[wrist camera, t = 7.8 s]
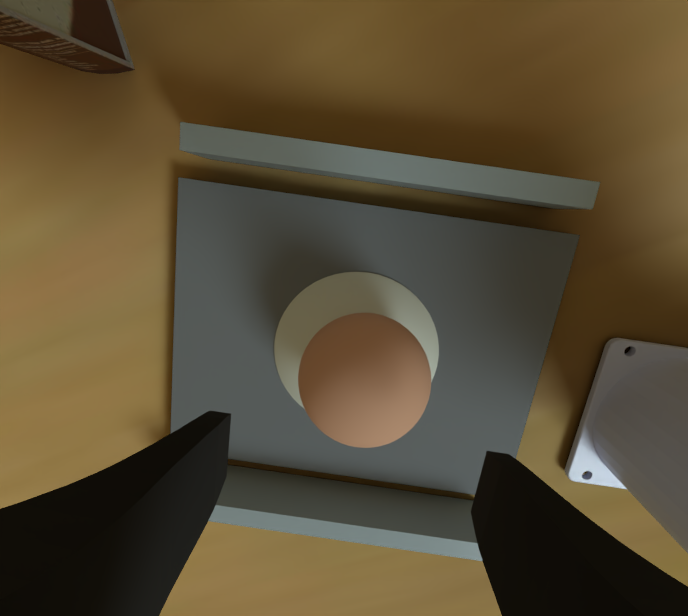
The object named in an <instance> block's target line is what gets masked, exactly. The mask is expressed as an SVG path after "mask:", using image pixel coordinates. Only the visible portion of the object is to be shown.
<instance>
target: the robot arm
mask: <svg viewBox="0 0 688 616" xmlns="http://www.w3.org/2000/svg"><path fill="white" fill-rule="evenodd" d="M629 346H630V350H629V352H627V353H624V351H625V349H626V348H627V347H629ZM230 424H231V413H224V412H217V411H208V412H206V413H204V414H202V415H201V416H199V417H197V418H196V419H194V420H192V421H191V422H189V423H188V424H186V425H184V426H183V427H181V428H179V429H178V430H176V431H174V432H173V433H171V434H169V435H168V436H166V437H164V438H163V439H161V440H159V441H157V442H156V443H154V444H152V445H150V446H148V447H147V448H145V449H143V450H141V451H139V452H137V453H135V454H133V455H132V456H130V457H128V458H126V459H124V460H122V461H120V462H118V463H116V464H114V465H112V466H110V467H108V468H106V469H104V470H102V471H99V472H97V473H95V474H93V475H90V476H88V477H86V478H83V479H81V480H79V481H76V482H74V483H72V484H69V485H67V486H64V487H61V488H58V489H56V490H53V491H50V492H47V493H45V494H42V495H39V496H37V497H34V498H31V499H28V500H26V501H23V502H20V503H17V504H14V505H11V506H8V507H5V508H1V509H0V616H159V614H160V612H161V610H162V608H163V606H164V604H165V602H166V600H167V598H168V596H169V594H170V592H171V590H172V588H173V586H174V584H175V582H176V580H177V579H178V577H179V575H180V573H181V571H182V569H183V567H184V565H185V563H186V562H187V560H188V558H189V556H190V554H191V552H192V550H193V548H194V547H195V545H196V543H197V541H198V539H199V537H200V535H201V533H202V532H203V530H204V528H205V526H206V524H207V522H208V520H209V518H210V516H211V514H212V512H213V510H214V508H215V505H216V503H217V500H218V498H219V495H220V493H221V490H222V487H223V485H224V482H225V479H226V477H227V465H228V451H229V438H230ZM586 471H588V472H587V473H586V474H584V475H582V474H583V473H584V472H586ZM565 474H566V475H567V477H568V478H569V479H570V480H572V481H575V482H582V483H588V484H595V485H602V486H609V487H616V488H623V489H627V490H628V491H629V492H630V493H631V494H632V495H633V496H634V497H635V498H636V499H637V500H638V501H639V502H640V503H641V504H642V505H643V506H644V507H645V509H646V510H647V511H648V512H649V513H650V514H651V515H652V516H653V517H654V518H655V519H656V520H657V521H658V522H659V523H660V524H661V525H662V527H663V528H664V529H665V530H666V531H667V532H668V533H669V534H670V535H671V536H672V537H673V538H674V539H675V540H676V541H677V542H678V543H679V545H680V546H681V547H682V548H683V549H684V550H685V551H686V552H687V553H688V348H686V347H679V346H672V345H665V344H658V343H651V342H644V341H637V340H630V339H623V338H613V339H610V340H609V341H608V342H607V343H606V345H605V348H604V351H603V354H602V357H601V360H600V363H599V366H598V369H597V372H596V375H595V378H594V381H593V384H592V387H591V390H590V393H589V396H588V400H587V403H586V406H585V409H584V412H583V415H582V418H581V421H580V424H579V427H578V430H577V433H576V436H575V439H574V442H573V445H572V448H571V452H570V455H569V458H568V461H567V464H566V467H565ZM471 516H472V521H473V526H474V531H475V535H476V539H477V544H478V548H479V551H480V554H481V557H482V560H483V563H484V566H485V569H486V572H487V575H488V577H489V580H490V583H491V586H492V589H493V591H494V594H495V597H496V600H497V603H498V605H499V608H500V611H501V614H502V616H688V587H687V586H686V585H684V584H683V583H681V582H679V581H678V580H676V579H675V578H673V577H671V576H670V575H668V574H667V573H665V572H664V571H662V570H661V569H659V568H658V567H656V566H655V565H653V564H652V563H650V562H649V561H647V560H646V559H644V558H643V557H641V556H640V555H638V554H637V553H635V552H634V551H632V550H631V549H629V548H628V547H627V546H625V545H624V544H622V543H621V542H619V541H618V540H617V539H615V538H614V537H613V536H611V535H610V534H609V533H607V532H606V531H605V530H603V529H602V528H601V527H599V526H598V525H597V524H595V523H594V522H593V521H591V520H590V519H589V518H588V517H586V516H585V515H584V514H583V513H581V512H580V511H579V510H577V509H576V508H575V507H574V506H573V505H571V504H570V503H569V502H568V501H566V500H565V499H564V498H563V497H562V496H560V495H559V494H558V493H557V492H555V491H554V490H553V489H552V488H551V487H549V486H548V485H547V484H546V483H545V482H543V481H542V480H541V479H540V478H539V477H537V476H536V475H535V474H534V473H533V472H531V471H530V470H529V469H528V468H527V467H525V466H524V465H523V464H522V463H520V462H519V461H518V460H516V459H515V458H514V457H512V456H511V455H509V454H506V453H499V452H492V451H487V452H486V456H485V459H484V463H483V467H482V471H481V475H480V478H479V482H478V486H477V490H476V493H475V497H474V501H473V505H472V509H471Z"/></svg>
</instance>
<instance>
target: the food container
mask: <svg viewBox="0 0 688 616" xmlns="http://www.w3.org/2000/svg"><path fill="white" fill-rule="evenodd" d="M0 44H3V45H6V46H9V47H12V48H15V49H18V50H21V51H24V52H27V53H30V54H33V55H36V56H39V57H42V58H45V59H48V60H51V61H54V62H57V63H59V64H62V65H65V66H68V67H72V68H75V69H78V70H81V71H85V72H92V73H99V74H108V73H121V72H126V71H131V70H135V69H134V66H133V63H132V59H131V56H130V53H129V50H128V47H127V44H126V41H125V38H124V35H123V32H122V29H121V26H120V23H119V20H118V16H117V13H116V10H115V7H114V4H113V1H112V0H0Z"/></svg>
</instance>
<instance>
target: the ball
mask: <svg viewBox="0 0 688 616" xmlns="http://www.w3.org/2000/svg"><path fill="white" fill-rule="evenodd" d="M298 387H299V393H300V398H301V401H302V404H303V406H304V408H305V410H306V412H307V414H308V416H309V417H310V419H311V420H312V422H313V423H314V424H315V425H316V426H317V427H318V428H319V430H321V431H322V432H323V433H324V434H325V435H327V436H329V437H330V438H332V439H333V440H335V441H337V442H339V443H342V444H345V445H348V446H353V447H360V448H372V447H378V446H383V445H386V444H389V443H391V442H394V441H395V440H397V439H399V438H401V437H402V436H403V435H405V434H406V433H407V432H408V431H409V430H411V429H412V428H413V427H414V425H415V424H416V423H417V422H418V421H419V419H420V418H421V416H422V414H423V412H424V410H425V408H426V406H427V403H428V400H429V396H430V391H431V371H430V366H429V362H428V359H427V356H426V353H425V351H424V349H423V348H422V346H421V344H420V342H419V341H418V340H417V338H416V337H415V336H414V335H413V334H412V333H411V332H410V331H409V330H408V329H407V328H406V327H404V326H403V325H402V324H400V323H399V322H397V321H395V320H393V319H391V318H388V317H386V316H383V315H379V314H375V313H354V314H349V315H345V316H342V317H340V318H337V319H335V320H333V321H331V322H330V323H328V324H327V325H325V326H324V327H323V328H321V329H320V330H319V331H318V332H317V333H316V334H315V335H314V337H313V338H312V339H311V340H310V342H309V344H308V345H307V347H306V349H305V351H304V353H303V356H302V358H301V362H300V366H299V373H298Z"/></svg>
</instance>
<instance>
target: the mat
mask: <svg viewBox="0 0 688 616" xmlns="http://www.w3.org/2000/svg"><path fill="white" fill-rule="evenodd" d="M579 236H580V235H575V234H568V233H561V232H554V231H547V230H540V229H533V228H526V227H519V226H513V225H506V224H499V223H492V222H485V221H478V220H471V219H464V218H457V217H450V216H443V215H436V214H429V213H422V212H415V211H408V210H402V209H395V208H388V207H381V206H374V205H367V204H360V203H353V202H346V201H339V200H332V199H325V198H318V197H311V196H304V195H297V194H291V193H284V192H277V191H270V190H263V189H256V188H249V187H242V186H235V185H228V184H221V183H214V182H207V181H200V180H193V179H186V178H180V177H178V207H177V240H176V272H175V305H174V337H173V370H172V402H171V433H173V432H174V431H176V430H178V429H179V428H181V427H183V426H184V425H186V424H188V423H189V422H191V421H192V420H194V419H196V418H197V417H199V416H201V415H202V414H204V413H206V412H208V411H217V412H224V413H231V424H230V438H229V451H228V459H233V460H240V461H247V462H253V463H260V464H267V465H274V466H281V467H288V468H295V469H301V470H308V471H315V472H322V473H329V474H336V475H343V476H350V477H356V478H363V479H370V480H377V481H384V482H391V483H398V484H404V485H411V486H418V487H425V488H432V489H439V490H446V491H452V492H459V493H466V494H473V495H475V493H476V490H477V486H478V482H479V478H480V475H481V471H482V467H483V463H484V459H485V456H486V452H487V451H492V452H499V453H506V454H509V455H511V456H512V457H514V458H515V459H516V455H517V452H518V448H519V445H520V441H521V438H522V434H523V431H524V427H525V424H526V421H527V417H528V414H529V410H530V407H531V403H532V400H533V396H534V393H535V389H536V386H537V382H538V379H539V375H540V372H541V368H542V365H543V361H544V358H545V354H546V351H547V348H548V344H549V341H550V337H551V334H552V330H553V327H554V323H555V320H556V316H557V313H558V309H559V306H560V302H561V299H562V295H563V292H564V288H565V285H566V281H567V278H568V275H569V271H570V268H571V264H572V261H573V257H574V254H575V250H576V247H577V243H578V240H579ZM354 313H375V314H379V315H383V316H386V317H388V318H391V319H393V320H395V321H397V322H399V323H400V324H402V325H403V326H404V327H406V328H407V329H408V330H409V331H410V332H411V333H412V334H413V335H414V336H415V337H416V338H417V340H418V341H419V342H420V344H421V346H422V348H423V349H424V351H425V353H426V356H427V359H428V362H429V366H430V371H431V391H430V396H429V400H428V403H427V406H426V408H425V410H424V412H423V414H422V416H421V418H420V419H419V421H418V422H417V423H416V424H415V425H414V427H413V428H412V429H411V430H409V431H408V432H407V433H406V434H405V435H403V436H402V437H401V438H399V439H397V440H395V441H394V442H391V443H389V444H386V445H383V446H378V447H372V448H360V447H353V446H348V445H345V444H342V443H339V442H337V441H335V440H333V439H332V438H330V437H329V436H327V435H325V434H324V433H323V432H322V431H321V430H319V428H318V427H317V426H316V425H315V424H314V423H313V422H312V420H311V419H310V417H309V416H308V414H307V412H306V410H305V408H304V406H303V404H302V401H301V398H300V393H299V387H298V373H299V366H300V362H301V358H302V356H303V353H304V351H305V349H306V347H307V345H308V344H309V342H310V340H311V339H312V338H313V337H314V335H315V334H316V333H317V332H318V331H319V330H320V329H321V328H323V327H324V326H325V325H327V324H328V323H330V322H331V321H333V320H335V319H337V318H340V317H342V316H345V315H349V314H354Z"/></svg>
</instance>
